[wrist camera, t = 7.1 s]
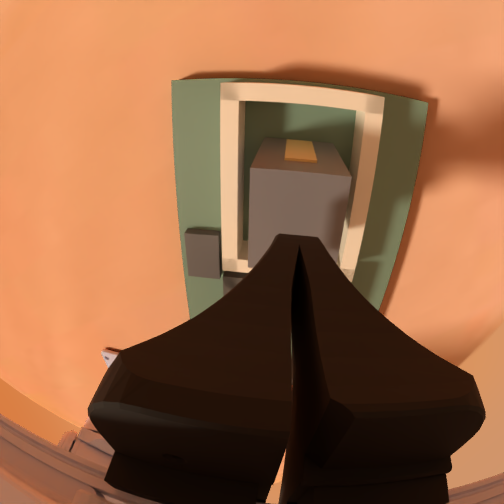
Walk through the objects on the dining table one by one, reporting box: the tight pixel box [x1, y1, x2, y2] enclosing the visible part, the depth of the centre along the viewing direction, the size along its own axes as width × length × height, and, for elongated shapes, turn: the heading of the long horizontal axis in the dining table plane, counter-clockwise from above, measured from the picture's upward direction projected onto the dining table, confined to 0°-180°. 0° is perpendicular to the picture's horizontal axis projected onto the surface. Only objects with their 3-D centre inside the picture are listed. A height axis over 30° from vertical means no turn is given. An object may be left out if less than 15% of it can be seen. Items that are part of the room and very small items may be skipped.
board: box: [172, 78, 428, 382], centre depth 18 cm, size 20×13×3 cm, turn 178°
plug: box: [248, 137, 352, 268], centre depth 13 cm, size 4×3×6 cm
